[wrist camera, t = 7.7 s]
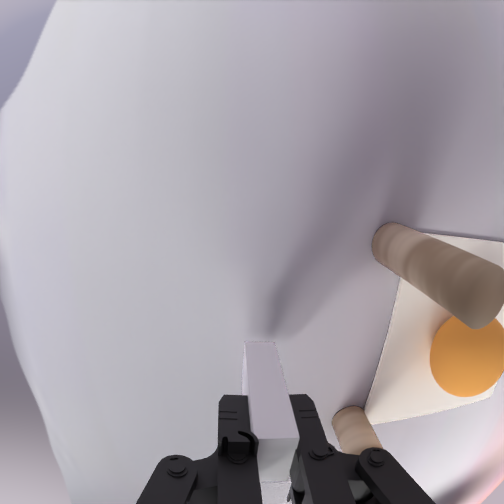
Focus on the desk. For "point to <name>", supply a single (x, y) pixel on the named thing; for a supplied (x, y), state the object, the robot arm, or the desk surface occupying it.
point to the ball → (467, 357)
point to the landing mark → (419, 349)
